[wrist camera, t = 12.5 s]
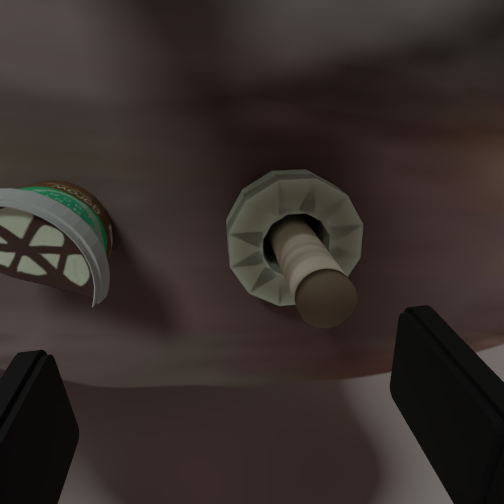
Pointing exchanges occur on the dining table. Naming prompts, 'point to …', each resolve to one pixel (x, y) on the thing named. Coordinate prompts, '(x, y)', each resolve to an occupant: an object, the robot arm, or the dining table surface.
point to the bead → (276, 207)
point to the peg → (312, 274)
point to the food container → (56, 238)
